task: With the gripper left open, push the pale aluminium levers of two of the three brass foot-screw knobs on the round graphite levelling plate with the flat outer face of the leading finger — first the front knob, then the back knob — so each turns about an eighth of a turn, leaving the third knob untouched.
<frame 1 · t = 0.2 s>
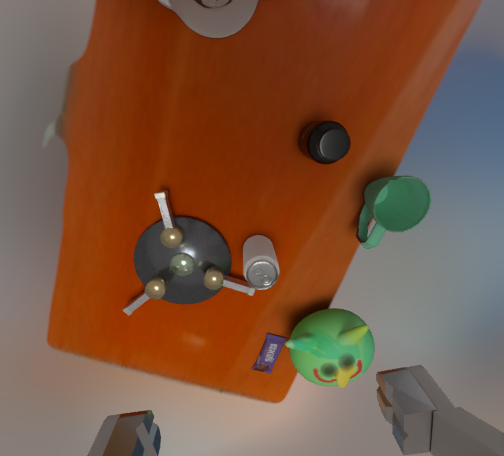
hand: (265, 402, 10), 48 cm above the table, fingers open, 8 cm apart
snack package: (268, 350, 70), on the table
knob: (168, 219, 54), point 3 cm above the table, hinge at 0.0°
levelling plate: (184, 260, 60), on the table
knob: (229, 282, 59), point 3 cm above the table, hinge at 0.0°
mug: (368, 202, 58), on the table
supplement bottle: (314, 140, 53), on the table
toy bird: (320, 322, 67), on the table
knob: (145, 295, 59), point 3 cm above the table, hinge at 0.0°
can: (257, 247, 60), on the table
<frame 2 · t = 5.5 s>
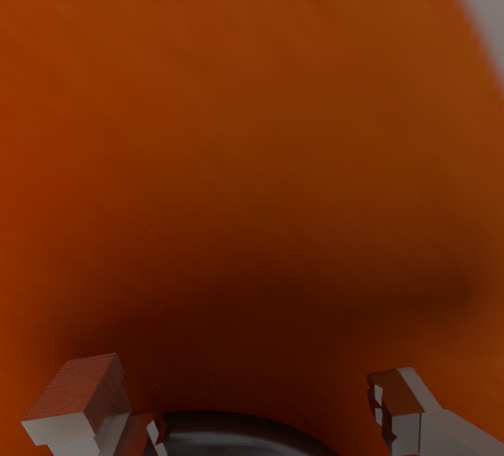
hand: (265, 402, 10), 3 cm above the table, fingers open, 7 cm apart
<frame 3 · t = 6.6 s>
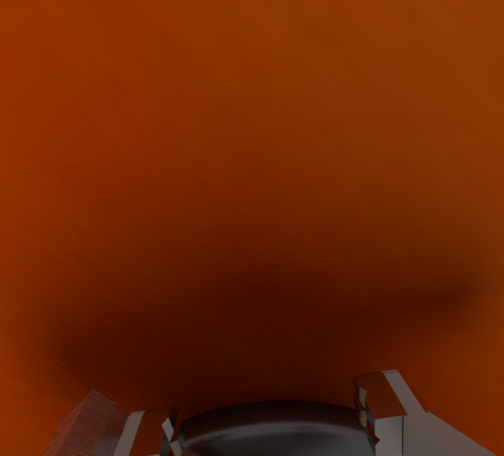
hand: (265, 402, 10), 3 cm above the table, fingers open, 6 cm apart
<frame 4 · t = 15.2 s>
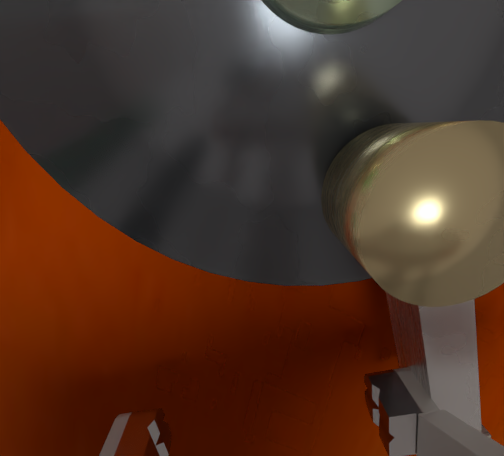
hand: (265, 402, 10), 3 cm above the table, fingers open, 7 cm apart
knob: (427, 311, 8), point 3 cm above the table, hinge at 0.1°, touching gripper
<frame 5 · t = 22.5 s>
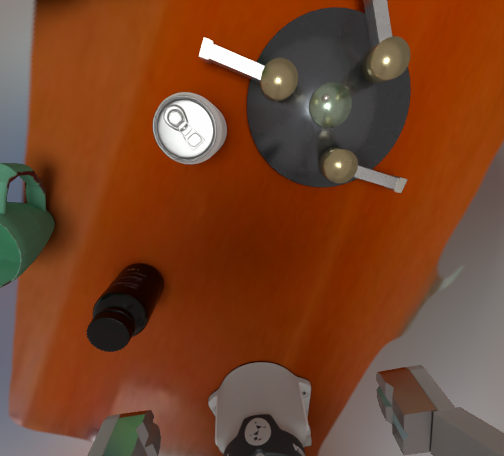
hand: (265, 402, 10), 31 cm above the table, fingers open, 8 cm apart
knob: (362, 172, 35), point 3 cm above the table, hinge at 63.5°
levelling plate: (325, 107, 36), on the table
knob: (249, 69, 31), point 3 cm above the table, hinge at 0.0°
mug: (41, 205, 39), on the table
supplement bottle: (142, 281, 43), on the table
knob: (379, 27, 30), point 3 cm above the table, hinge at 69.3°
can: (202, 129, 36), on the table
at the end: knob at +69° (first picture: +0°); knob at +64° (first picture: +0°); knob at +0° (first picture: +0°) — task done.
